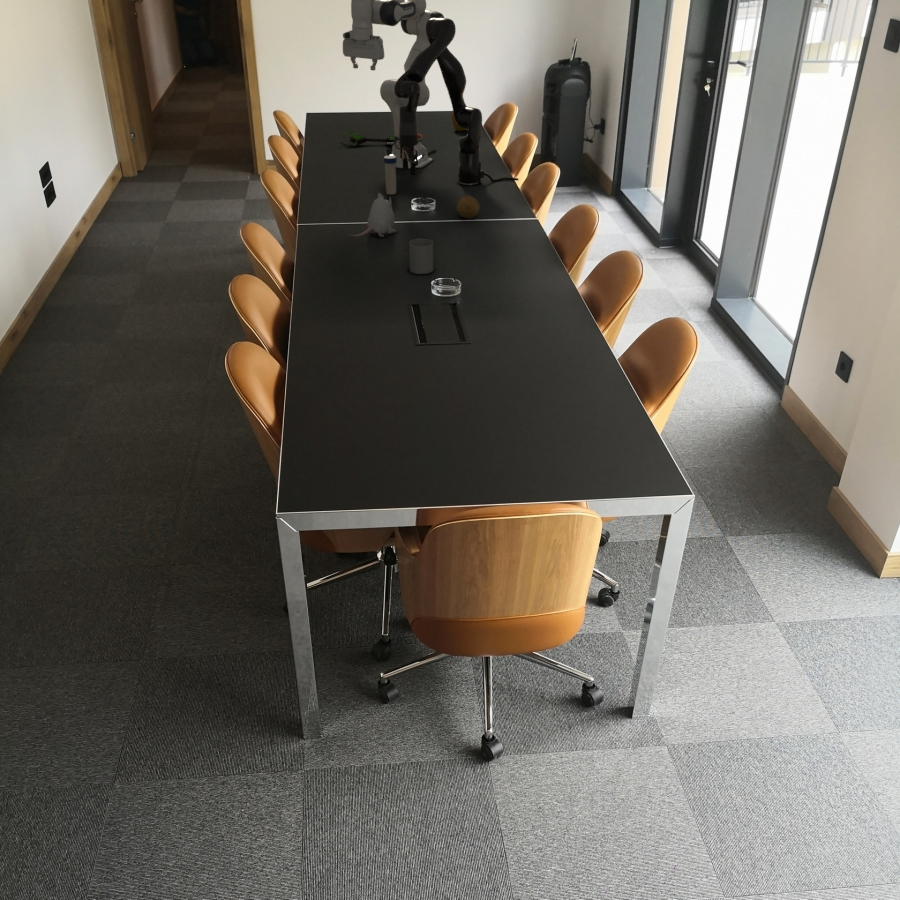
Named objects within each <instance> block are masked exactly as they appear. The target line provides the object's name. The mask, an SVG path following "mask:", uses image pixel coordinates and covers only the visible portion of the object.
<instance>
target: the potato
mask: <svg viewBox="0 0 900 900" xmlns="http://www.w3.org/2000/svg"><path fill="white" fill-rule="evenodd" d="M480 206H481V205H480V203H479V201H478V199H476V198H475V197H474V196H470V195H464V196H462V197H461V198H460V199H459V200H458V201H457V203H456V213H457V214H458V215H459V217H462V218H465V219H473V218H474V217H476V216H477V215H478V214H479V210H480V208H481V207H480Z"/></svg>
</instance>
